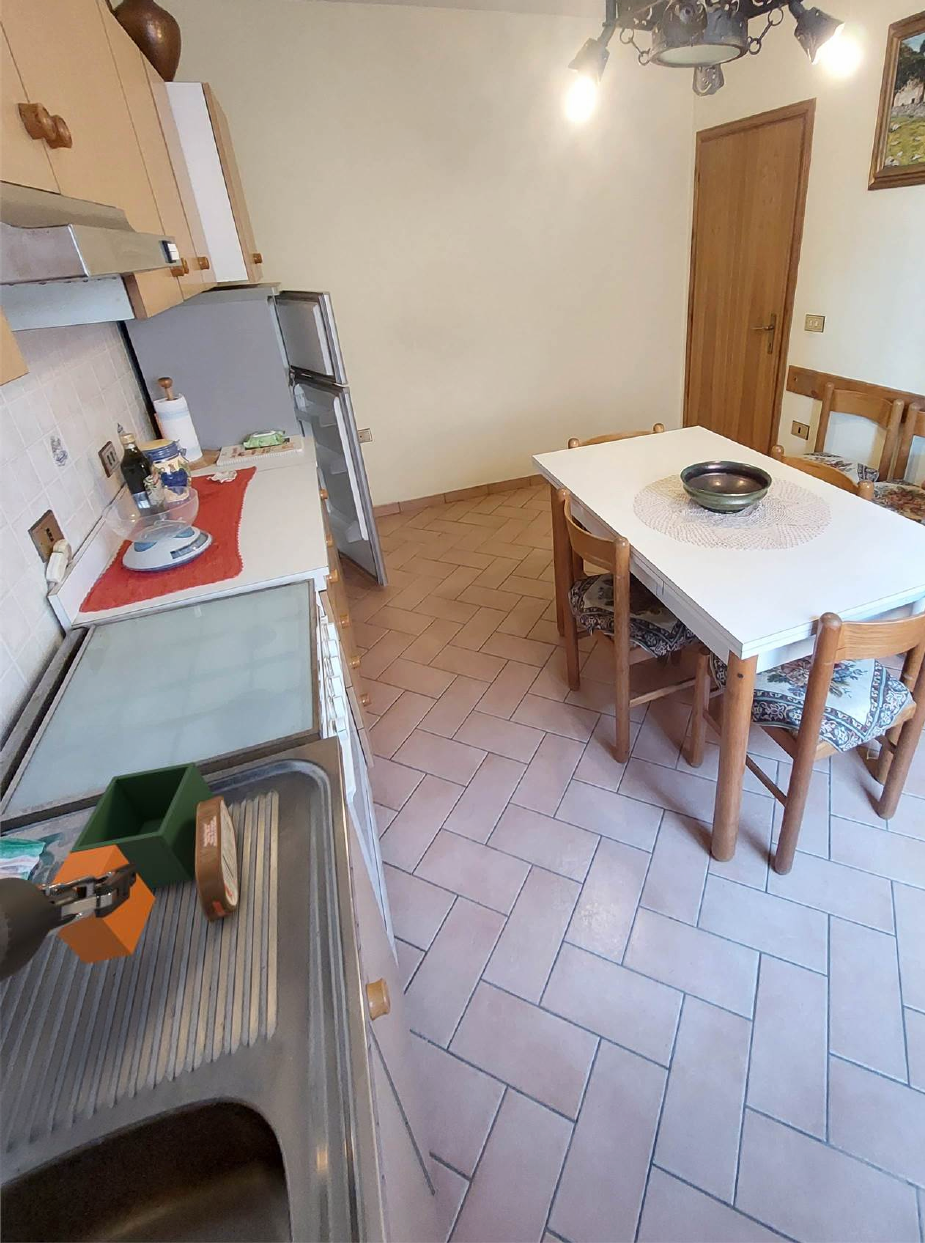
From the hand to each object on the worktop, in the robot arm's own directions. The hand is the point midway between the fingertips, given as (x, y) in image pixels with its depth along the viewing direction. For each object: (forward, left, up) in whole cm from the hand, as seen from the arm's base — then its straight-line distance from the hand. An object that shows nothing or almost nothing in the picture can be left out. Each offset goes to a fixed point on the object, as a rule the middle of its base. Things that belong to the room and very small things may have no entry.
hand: (105, 879), depth 60 cm
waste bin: (-4, +12, -13) cm, 19 cm away
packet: (0, -2, -6) cm, 6 cm away
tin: (+6, +7, -14) cm, 16 cm away
